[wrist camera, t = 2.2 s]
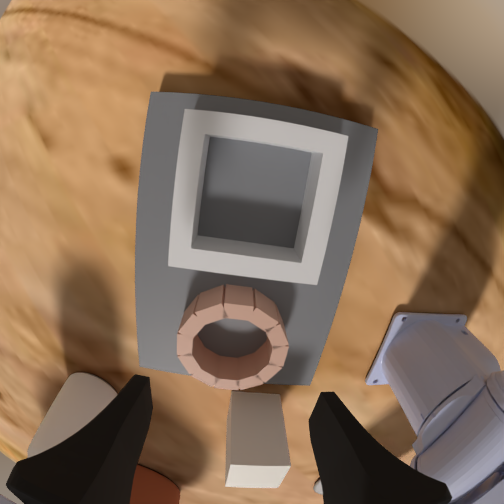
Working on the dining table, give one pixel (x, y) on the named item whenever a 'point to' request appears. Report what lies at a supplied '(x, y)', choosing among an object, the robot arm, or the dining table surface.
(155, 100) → the socket board
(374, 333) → the dining table surface
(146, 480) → the potted cactus
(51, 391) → the dining table surface
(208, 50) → the dining table surface
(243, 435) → the square peg
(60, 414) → the can
